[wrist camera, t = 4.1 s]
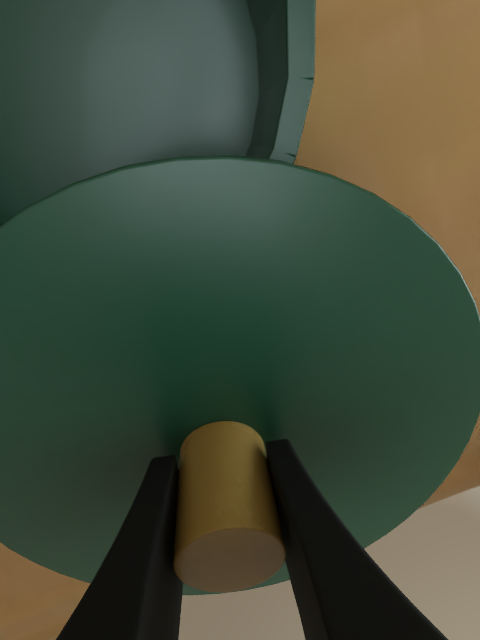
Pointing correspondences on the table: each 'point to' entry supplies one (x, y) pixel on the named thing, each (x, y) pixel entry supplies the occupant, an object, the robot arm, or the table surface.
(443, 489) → the table surface
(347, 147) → the table surface
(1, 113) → the tin
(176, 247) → the tin lid
